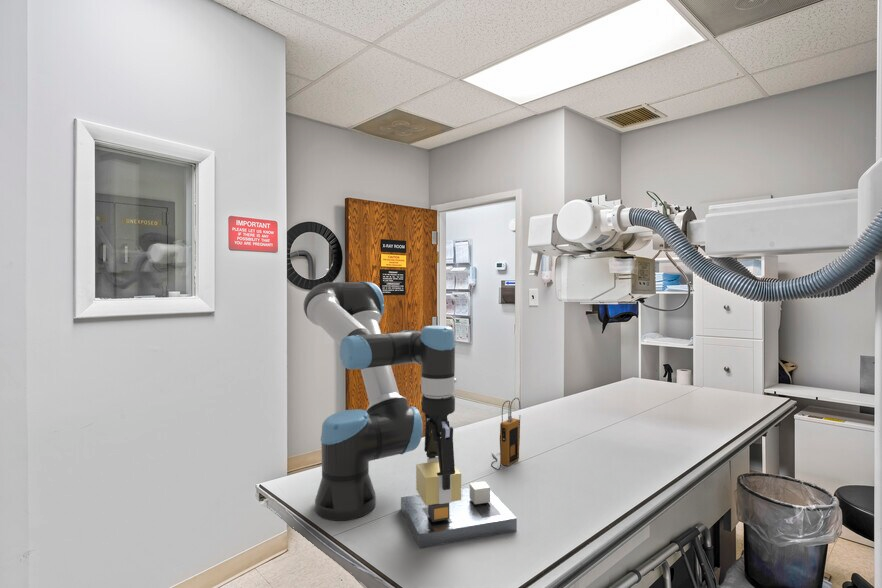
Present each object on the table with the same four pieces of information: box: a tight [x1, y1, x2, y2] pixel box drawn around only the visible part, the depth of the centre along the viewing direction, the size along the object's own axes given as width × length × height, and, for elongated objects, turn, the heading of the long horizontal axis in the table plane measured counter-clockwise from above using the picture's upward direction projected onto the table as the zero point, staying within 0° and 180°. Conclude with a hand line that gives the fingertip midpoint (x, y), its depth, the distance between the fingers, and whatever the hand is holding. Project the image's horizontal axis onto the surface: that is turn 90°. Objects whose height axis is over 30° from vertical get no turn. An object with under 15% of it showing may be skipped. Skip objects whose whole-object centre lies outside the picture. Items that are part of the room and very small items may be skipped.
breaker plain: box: [469, 480, 491, 504], centre depth 115 cm, size 4×4×4 cm
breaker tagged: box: [428, 503, 449, 522], centre depth 107 cm, size 4×4×4 cm
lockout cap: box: [415, 461, 462, 505], centre depth 107 cm, size 8×8×6 cm
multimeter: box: [490, 397, 521, 471], centre depth 149 cm, size 15×10×20 cm
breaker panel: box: [400, 486, 518, 549], centre depth 112 cm, size 23×18×3 cm
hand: (438, 493), depth 107 cm, fingers closed on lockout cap, 8 cm apart
